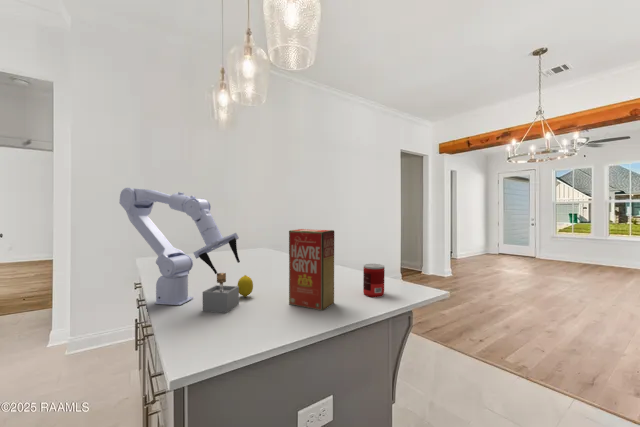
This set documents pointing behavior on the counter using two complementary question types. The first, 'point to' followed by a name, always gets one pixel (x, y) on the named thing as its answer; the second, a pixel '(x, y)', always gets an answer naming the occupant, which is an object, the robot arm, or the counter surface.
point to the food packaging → (311, 268)
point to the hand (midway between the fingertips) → (227, 267)
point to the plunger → (221, 282)
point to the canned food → (373, 280)
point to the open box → (220, 299)
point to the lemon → (245, 285)
